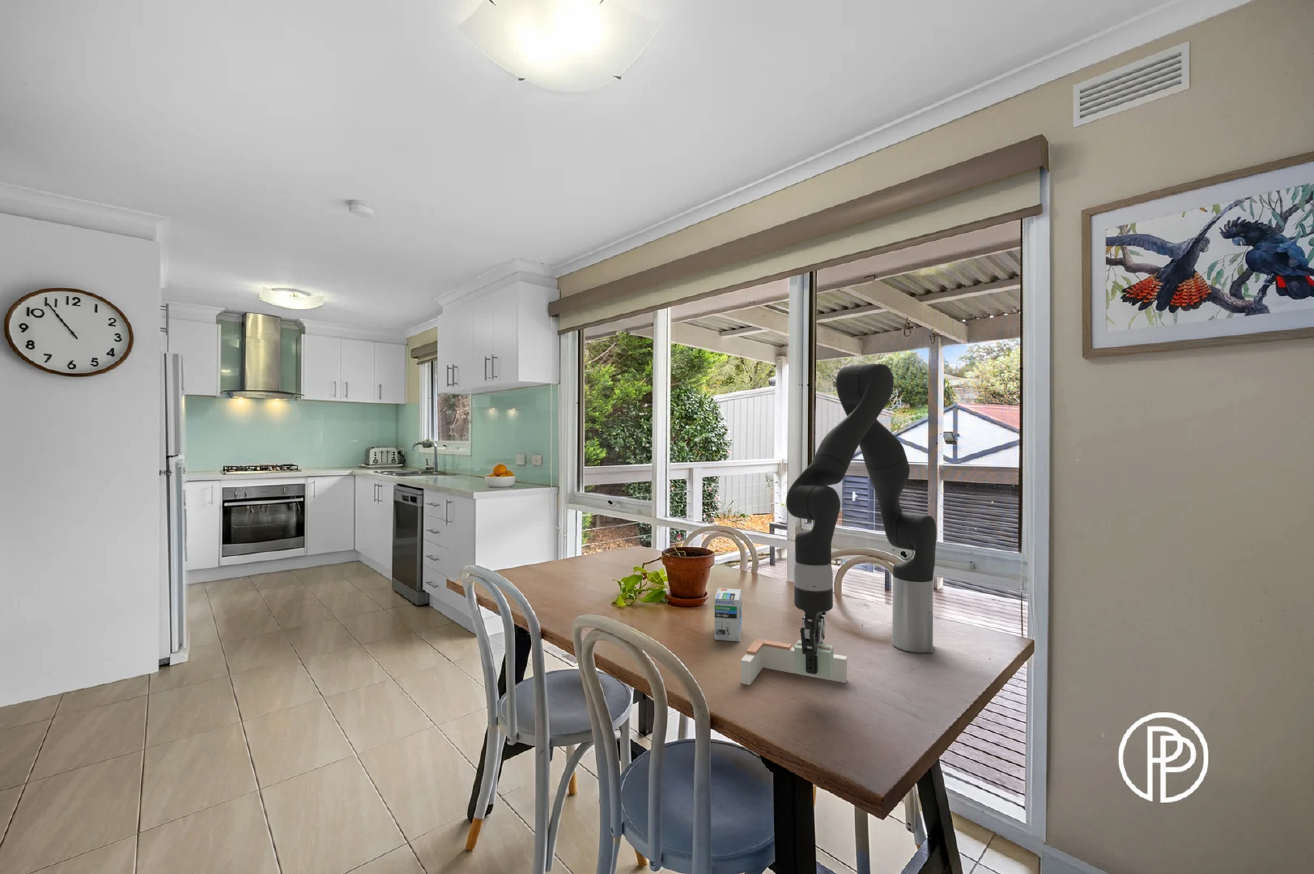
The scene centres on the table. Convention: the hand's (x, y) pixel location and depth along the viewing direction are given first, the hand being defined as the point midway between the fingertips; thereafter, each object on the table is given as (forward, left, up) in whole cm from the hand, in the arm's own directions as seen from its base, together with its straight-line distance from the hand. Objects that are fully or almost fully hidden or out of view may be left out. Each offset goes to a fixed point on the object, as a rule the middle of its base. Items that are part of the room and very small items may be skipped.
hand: (813, 667), depth 115 cm
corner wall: (+5, -6, -6) cm, 10 cm away
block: (0, 0, -1) cm, 1 cm away
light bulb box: (+27, -27, -6) cm, 39 cm away
